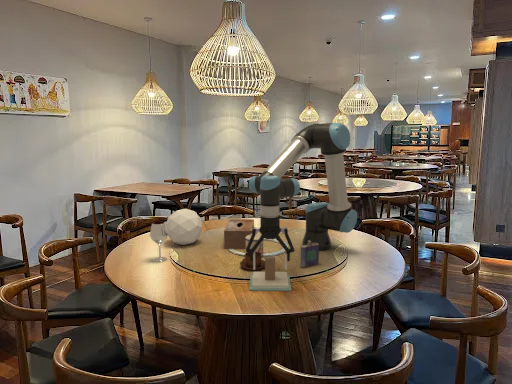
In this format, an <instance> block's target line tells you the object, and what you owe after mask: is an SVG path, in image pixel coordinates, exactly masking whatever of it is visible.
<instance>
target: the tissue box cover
mask: <svg viewBox="0 0 512 384" xmlns="http://www.w3.org/2000/svg"><path fill="white" fill-rule="evenodd" d="M254 227H255V219H246V218H245V219H241V218H240V219H239V218H237V219H234V218H233V219H231V218H230V219H228V221H227V224H226V225H225V227H224V230H223V238H224V239H223V240H224V241H223V246H224V250H246V239H245V237H246V236H248V235H250V234H252V231H253V228H254Z"/></svg>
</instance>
